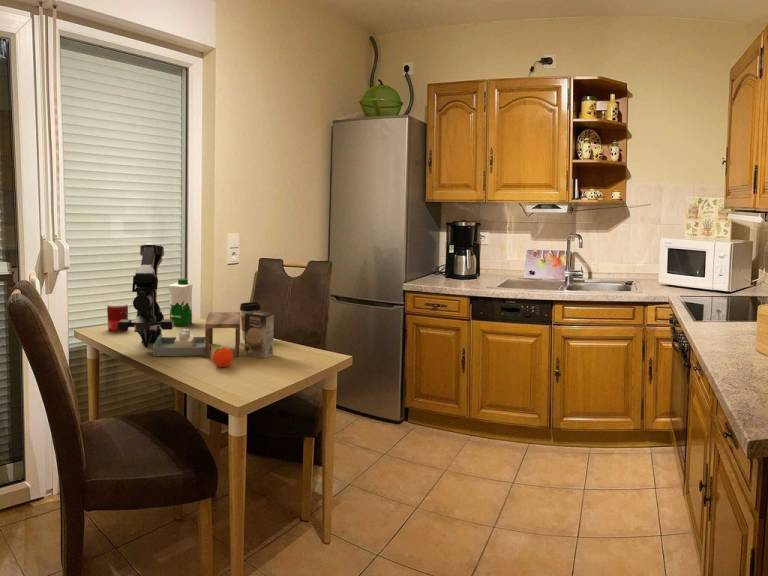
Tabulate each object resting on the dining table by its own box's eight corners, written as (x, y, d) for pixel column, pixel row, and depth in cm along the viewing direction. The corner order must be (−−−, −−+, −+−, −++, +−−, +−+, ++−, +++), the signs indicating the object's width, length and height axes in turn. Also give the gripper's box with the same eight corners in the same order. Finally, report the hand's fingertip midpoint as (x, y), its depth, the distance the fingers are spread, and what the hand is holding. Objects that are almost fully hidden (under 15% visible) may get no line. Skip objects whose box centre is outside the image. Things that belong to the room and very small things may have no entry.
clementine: (210, 370, 194) (210, 350, 193) (207, 364, 200) (207, 345, 199) (234, 368, 197) (234, 348, 196) (231, 363, 203) (231, 343, 202)
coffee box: (243, 355, 214) (243, 313, 211) (252, 351, 220) (253, 310, 217) (265, 358, 211) (265, 315, 208) (274, 354, 217) (274, 312, 214)
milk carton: (194, 322, 262) (194, 279, 259) (184, 327, 253) (184, 282, 250) (176, 321, 263) (176, 278, 260) (166, 325, 255) (165, 280, 251)
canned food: (123, 332, 239) (122, 306, 238) (104, 331, 239) (103, 305, 238) (131, 328, 247) (131, 303, 245) (113, 327, 247) (112, 302, 245)
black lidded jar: (255, 342, 234) (255, 305, 231) (235, 340, 235) (236, 304, 233) (263, 337, 242) (264, 302, 239) (244, 335, 243) (245, 300, 241)
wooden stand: (205, 357, 208) (205, 324, 206) (208, 343, 229) (208, 312, 227) (239, 357, 211) (239, 323, 209) (239, 342, 231) (240, 312, 229)
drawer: (153, 356, 206) (153, 345, 206) (159, 344, 222) (159, 334, 221) (205, 355, 211) (205, 344, 210) (208, 344, 226) (208, 334, 225)
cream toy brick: (174, 350, 211) (174, 334, 211) (178, 344, 220) (178, 328, 219) (191, 350, 213) (191, 334, 212) (194, 344, 221) (194, 328, 220)
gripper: (113, 310, 201) (114, 353, 203) (169, 310, 205) (170, 352, 208) (119, 304, 212) (120, 345, 214) (173, 304, 216) (174, 344, 218)
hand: (146, 347), depth 213 cm, fingers closed
